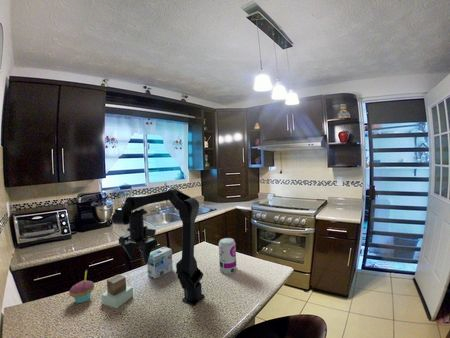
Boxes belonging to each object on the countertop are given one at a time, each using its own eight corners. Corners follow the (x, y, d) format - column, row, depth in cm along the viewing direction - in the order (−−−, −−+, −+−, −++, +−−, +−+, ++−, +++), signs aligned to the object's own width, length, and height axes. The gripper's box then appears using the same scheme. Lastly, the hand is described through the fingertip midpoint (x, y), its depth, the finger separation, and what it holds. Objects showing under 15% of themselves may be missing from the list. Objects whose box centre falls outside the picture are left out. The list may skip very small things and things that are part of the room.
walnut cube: (126, 289, 87) (125, 277, 87) (114, 296, 83) (113, 283, 83) (119, 285, 90) (118, 274, 90) (107, 292, 86) (106, 279, 86)
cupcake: (92, 290, 94) (90, 263, 93) (97, 299, 88) (95, 270, 87) (68, 300, 88) (66, 271, 87) (72, 309, 82) (69, 279, 81)
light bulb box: (155, 279, 101) (154, 257, 100) (147, 275, 105) (145, 253, 104) (173, 269, 109) (172, 248, 109) (165, 266, 113) (164, 246, 113)
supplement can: (239, 268, 107) (238, 239, 107) (231, 276, 100) (229, 244, 100) (225, 265, 112) (224, 236, 111) (216, 272, 105) (215, 242, 104)
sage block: (133, 296, 89) (132, 287, 89) (116, 309, 82) (116, 298, 81) (119, 292, 92) (118, 283, 92) (101, 304, 85) (101, 294, 85)
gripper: (166, 222, 93) (168, 257, 94) (138, 218, 103) (140, 250, 104) (144, 229, 84) (147, 269, 85) (116, 224, 94) (119, 259, 94)
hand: (139, 260), depth 92 cm, fingers open, 9 cm apart
